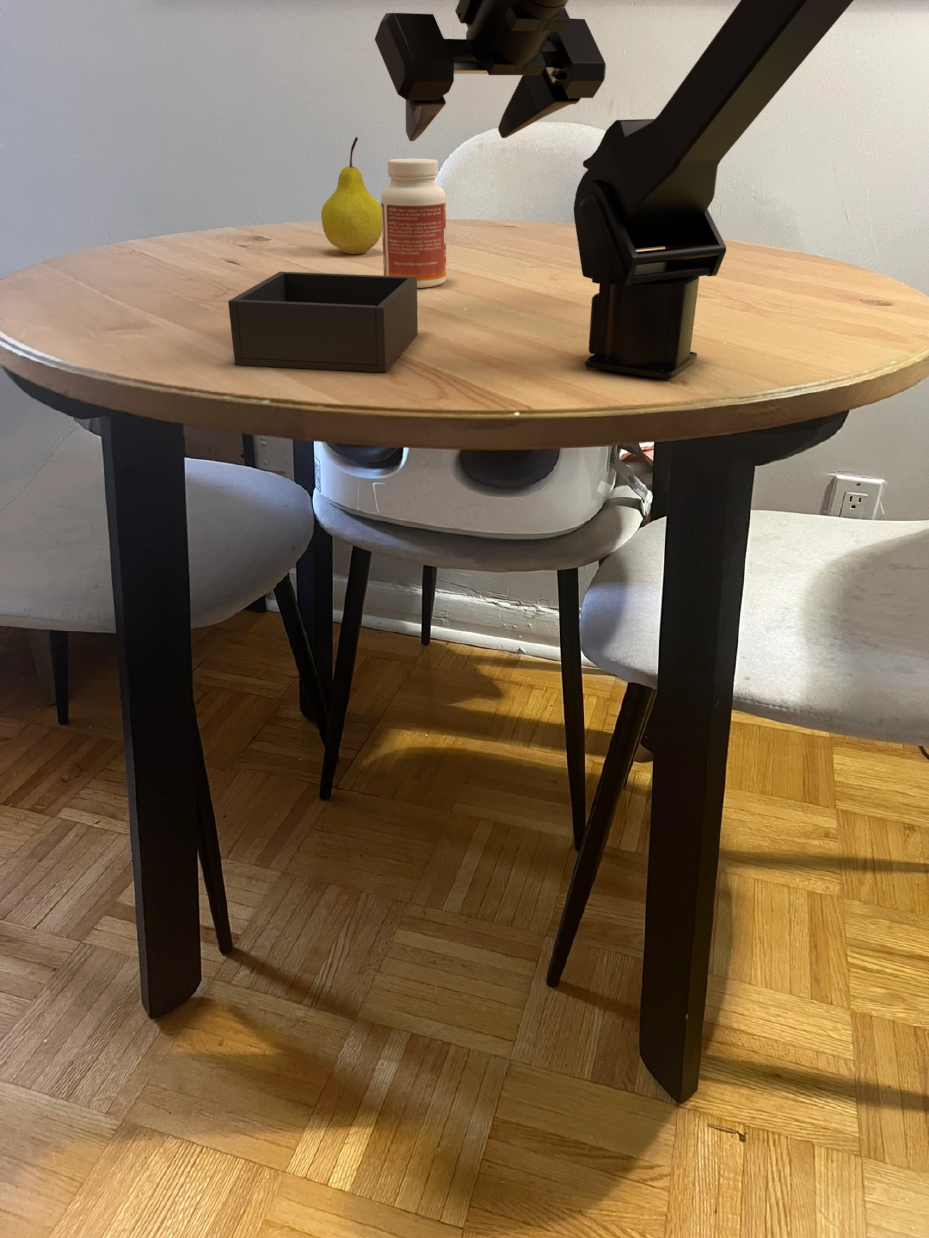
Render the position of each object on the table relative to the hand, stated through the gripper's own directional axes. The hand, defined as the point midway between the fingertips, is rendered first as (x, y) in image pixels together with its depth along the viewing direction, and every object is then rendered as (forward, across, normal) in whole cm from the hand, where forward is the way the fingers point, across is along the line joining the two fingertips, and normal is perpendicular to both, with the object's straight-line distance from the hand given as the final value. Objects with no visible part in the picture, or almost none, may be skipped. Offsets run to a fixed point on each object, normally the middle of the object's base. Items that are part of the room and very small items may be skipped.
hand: (456, 135), depth 85 cm
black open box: (+2, +18, +18) cm, 25 cm away
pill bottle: (+16, 0, +4) cm, 16 cm away
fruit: (+29, -2, -9) cm, 30 cm away
